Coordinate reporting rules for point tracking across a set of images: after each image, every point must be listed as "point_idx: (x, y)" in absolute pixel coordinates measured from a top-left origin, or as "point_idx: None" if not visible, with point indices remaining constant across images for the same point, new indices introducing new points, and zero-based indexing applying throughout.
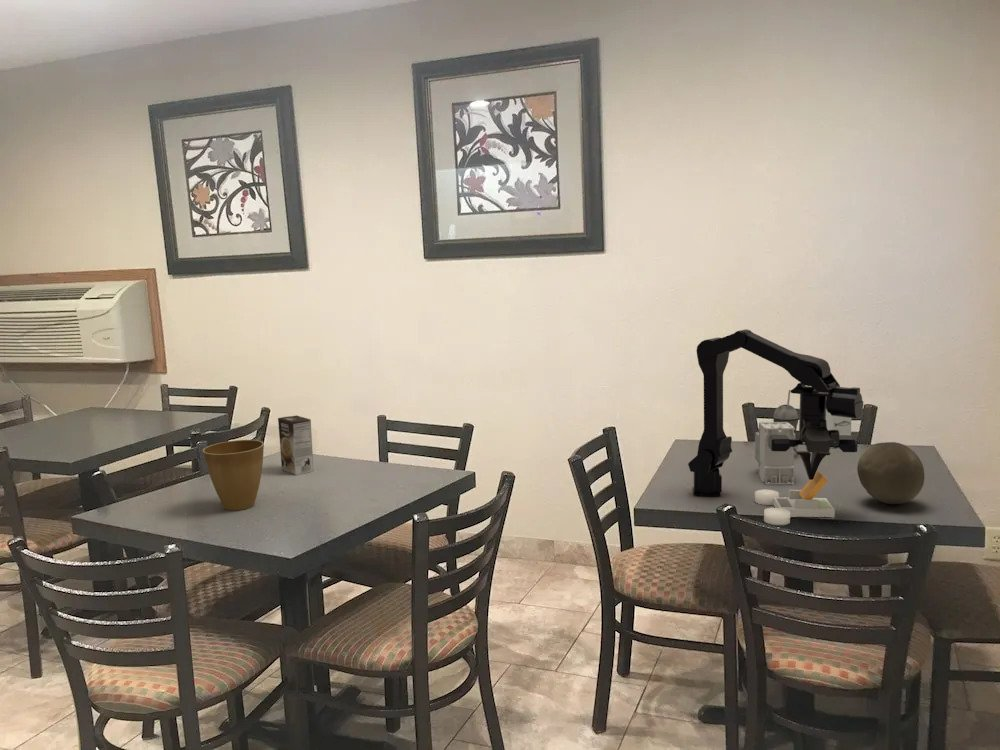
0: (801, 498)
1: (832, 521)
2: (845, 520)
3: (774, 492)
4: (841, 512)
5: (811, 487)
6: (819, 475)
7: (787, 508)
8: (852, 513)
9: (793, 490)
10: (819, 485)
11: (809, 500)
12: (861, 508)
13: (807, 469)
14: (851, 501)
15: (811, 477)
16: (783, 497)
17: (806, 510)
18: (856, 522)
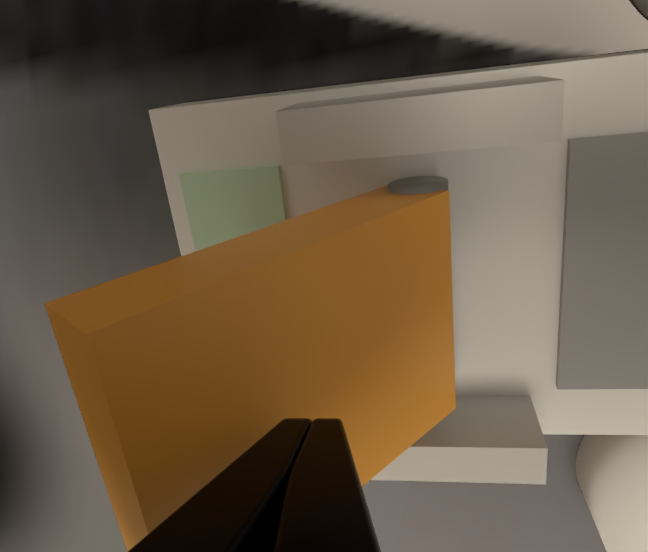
0: (449, 273)
1: (200, 11)
2: (101, 64)
3: (637, 536)
4: (137, 269)
5: (329, 303)
6: (165, 474)
7: (633, 76)
8: (65, 255)
9: (502, 463)
10: (210, 265)
11: (382, 111)
12: (21, 366)
13: (362, 542)
14: (88, 489)
15: (302, 432)
16: (576, 434)
17: (419, 80)
18: (18, 23)
